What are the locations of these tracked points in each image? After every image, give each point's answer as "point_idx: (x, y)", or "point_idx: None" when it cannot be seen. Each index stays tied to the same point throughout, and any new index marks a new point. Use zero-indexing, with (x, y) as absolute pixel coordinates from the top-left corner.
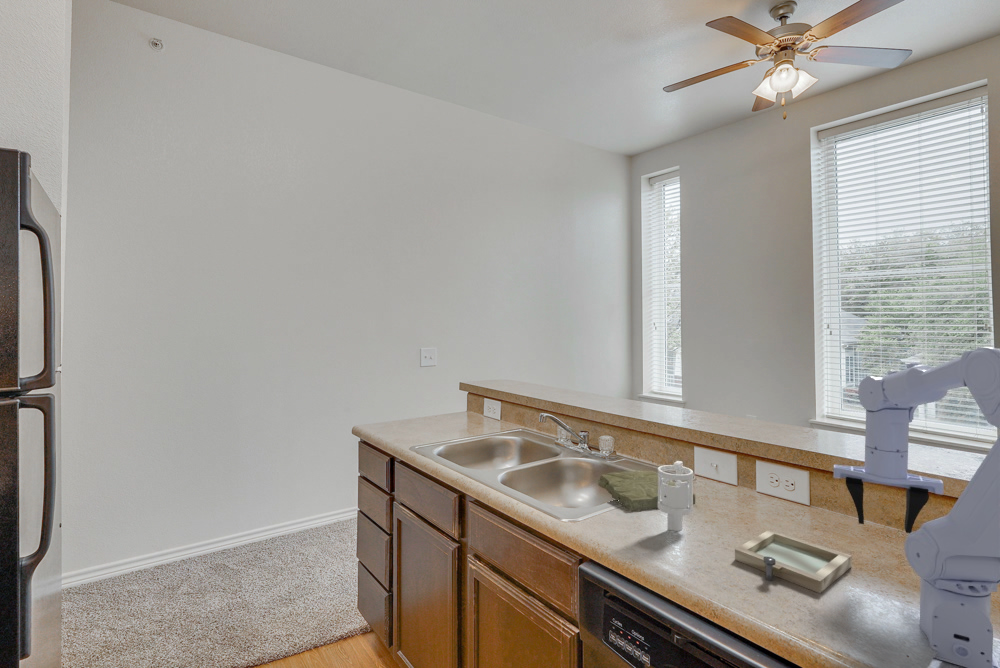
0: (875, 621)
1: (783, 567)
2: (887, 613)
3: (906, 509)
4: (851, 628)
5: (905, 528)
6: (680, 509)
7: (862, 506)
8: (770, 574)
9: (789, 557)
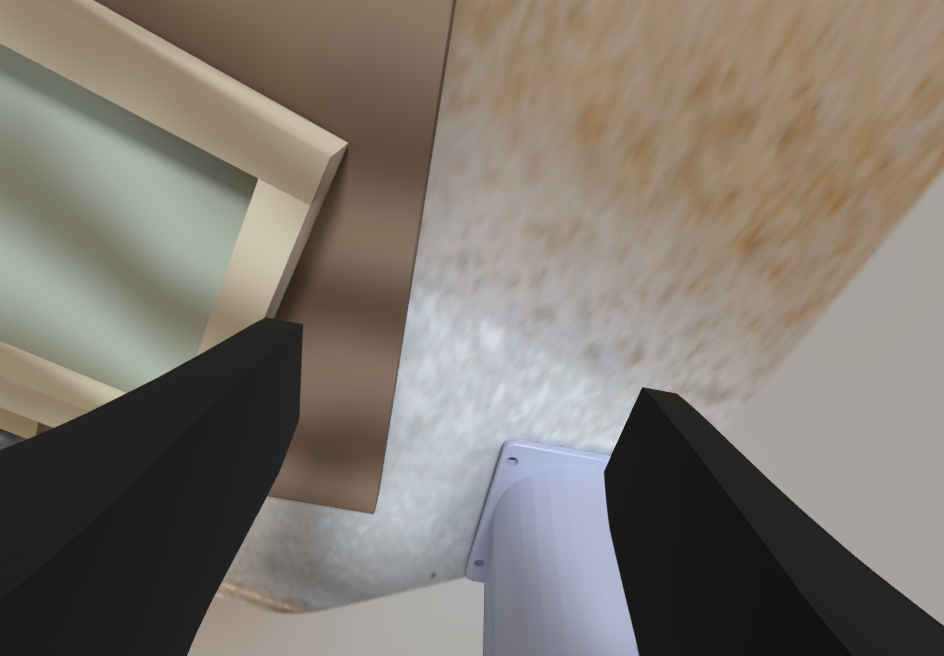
0: (390, 471)
1: (44, 423)
2: (438, 419)
3: (732, 549)
4: (320, 520)
5: (623, 456)
6: None
7: (198, 615)
8: (25, 439)
9: (37, 204)
